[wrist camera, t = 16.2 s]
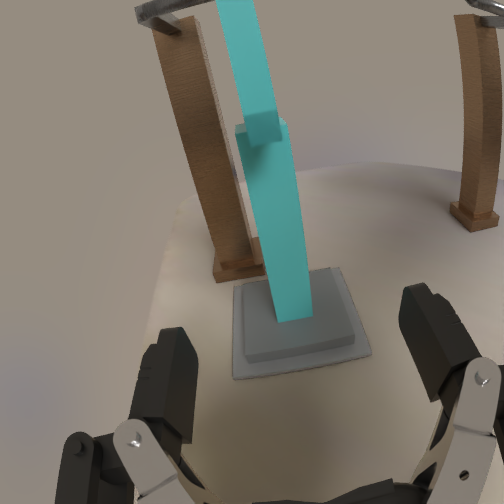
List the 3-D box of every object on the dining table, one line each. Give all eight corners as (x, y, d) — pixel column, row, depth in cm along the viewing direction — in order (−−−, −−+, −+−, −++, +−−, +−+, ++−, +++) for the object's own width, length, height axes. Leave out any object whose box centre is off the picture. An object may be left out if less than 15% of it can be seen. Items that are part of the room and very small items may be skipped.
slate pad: (339, 270, 25) (339, 267, 25) (371, 355, 17) (372, 352, 17) (234, 289, 26) (234, 286, 26) (233, 380, 18) (232, 377, 18)
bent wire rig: (476, 207, 28) (467, -12, 14) (531, 259, 19) (542, -17, 5) (219, 254, 31) (146, -3, 16) (211, 337, 22) (89, -37, 7)
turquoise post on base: (245, 287, 25) (164, -18, 12) (328, 271, 25) (277, -40, 11) (249, 372, 18) (116, -65, 5) (357, 352, 18) (303, -101, 4)
